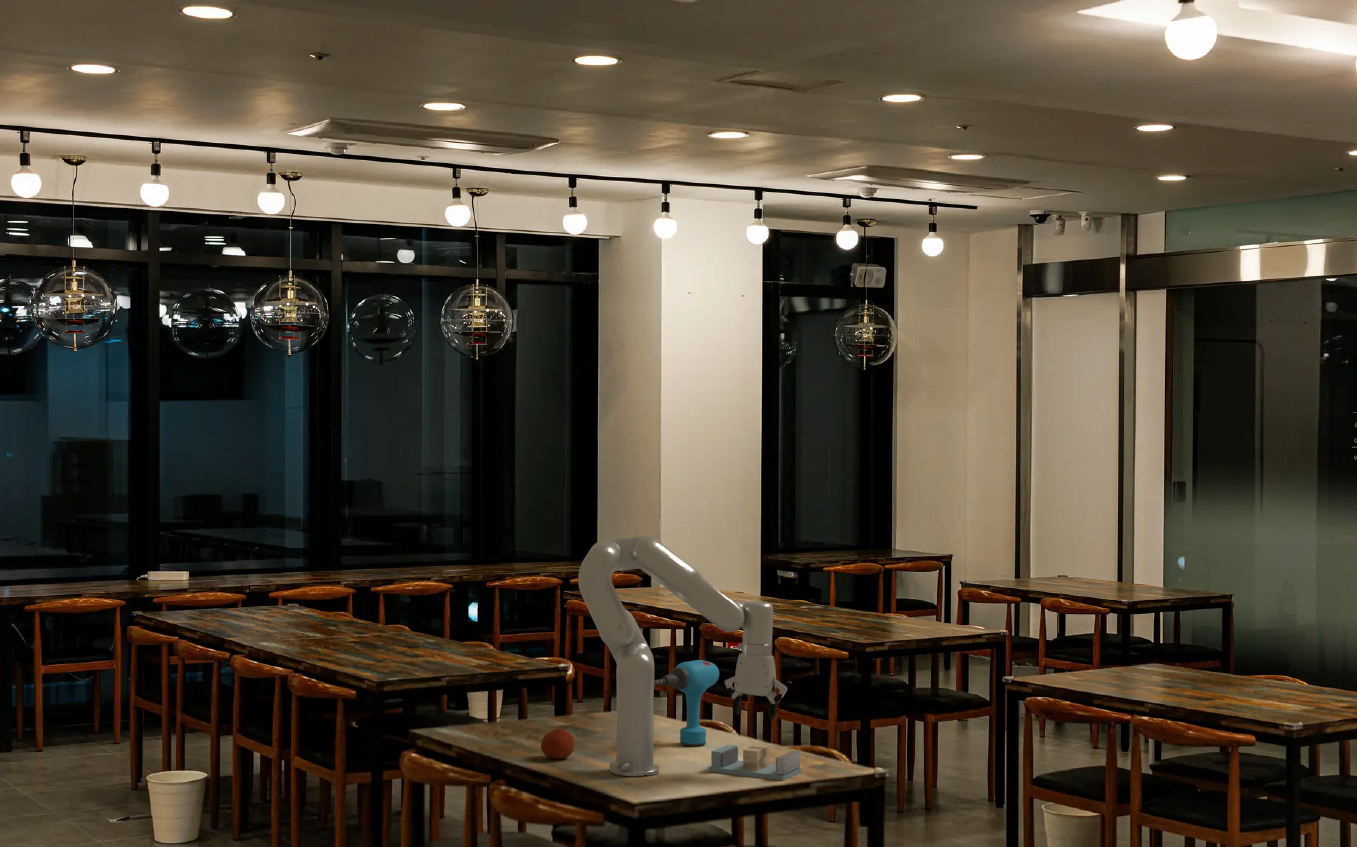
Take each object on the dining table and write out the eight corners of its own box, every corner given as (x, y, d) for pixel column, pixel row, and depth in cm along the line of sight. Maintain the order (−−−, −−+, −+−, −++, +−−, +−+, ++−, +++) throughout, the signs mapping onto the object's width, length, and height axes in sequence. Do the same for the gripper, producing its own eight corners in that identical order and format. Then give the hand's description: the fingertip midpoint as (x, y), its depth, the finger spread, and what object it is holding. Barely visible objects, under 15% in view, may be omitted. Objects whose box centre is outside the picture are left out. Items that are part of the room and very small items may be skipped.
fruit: (554, 753, 430) (555, 724, 430) (580, 757, 425) (580, 727, 425) (533, 759, 423) (533, 728, 423) (559, 763, 418) (559, 732, 418)
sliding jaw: (784, 774, 400) (784, 758, 400) (775, 773, 401) (775, 757, 401) (800, 766, 408) (800, 751, 408) (791, 765, 410) (791, 750, 410)
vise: (783, 780, 399) (783, 759, 399) (708, 771, 409) (708, 751, 409) (800, 772, 409) (800, 751, 409) (727, 763, 419) (727, 743, 419)
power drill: (660, 756, 427) (660, 670, 427) (636, 752, 432) (637, 666, 433) (726, 741, 448) (727, 659, 448) (703, 737, 454) (703, 655, 454)
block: (757, 770, 405) (757, 751, 405) (743, 769, 407) (743, 749, 407) (768, 765, 411) (769, 746, 411) (755, 764, 413) (755, 744, 413)
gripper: (720, 648, 409) (717, 714, 409) (781, 654, 401) (779, 722, 401) (733, 645, 416) (730, 710, 416) (793, 651, 408) (791, 718, 408)
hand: (754, 716), depth 409 cm, fingers open, 9 cm apart
